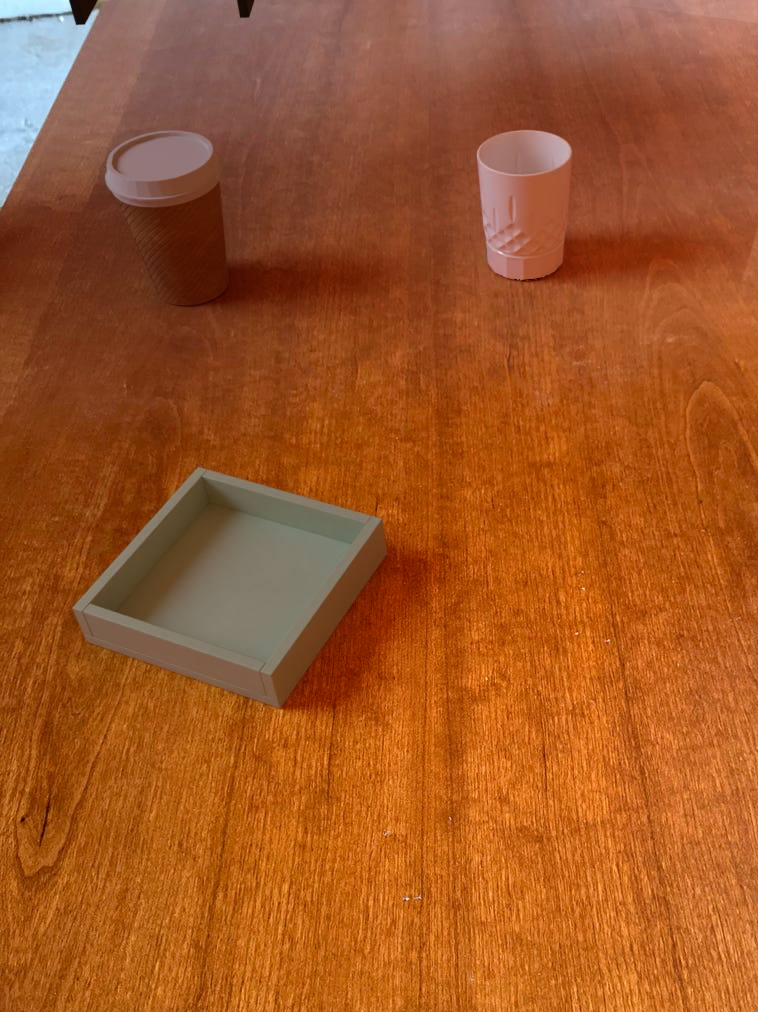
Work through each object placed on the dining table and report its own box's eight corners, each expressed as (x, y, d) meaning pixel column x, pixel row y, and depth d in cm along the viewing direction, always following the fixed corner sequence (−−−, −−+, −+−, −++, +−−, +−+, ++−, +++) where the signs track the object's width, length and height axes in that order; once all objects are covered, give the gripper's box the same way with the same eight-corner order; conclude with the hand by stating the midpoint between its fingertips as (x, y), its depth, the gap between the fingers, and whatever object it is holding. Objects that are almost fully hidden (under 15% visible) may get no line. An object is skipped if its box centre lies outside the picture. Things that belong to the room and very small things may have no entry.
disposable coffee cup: (116, 297, 104) (75, 166, 95) (190, 247, 109) (158, 118, 100) (196, 329, 100) (161, 195, 91) (269, 275, 105) (243, 144, 96)
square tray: (86, 642, 77) (71, 607, 74) (208, 501, 85) (198, 466, 83) (280, 709, 73) (271, 675, 70) (387, 553, 81) (382, 518, 79)
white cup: (470, 278, 103) (464, 169, 96) (495, 232, 108) (492, 125, 101) (557, 290, 102) (558, 180, 94) (579, 243, 107) (582, 134, 99)
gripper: (337, -49, 112) (317, 45, 98) (78, -38, 113) (22, 57, 99) (326, -140, 107) (304, -54, 93) (54, -127, 107) (-10, -40, 93)
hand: (158, 4), depth 96 cm, fingers open, 13 cm apart
